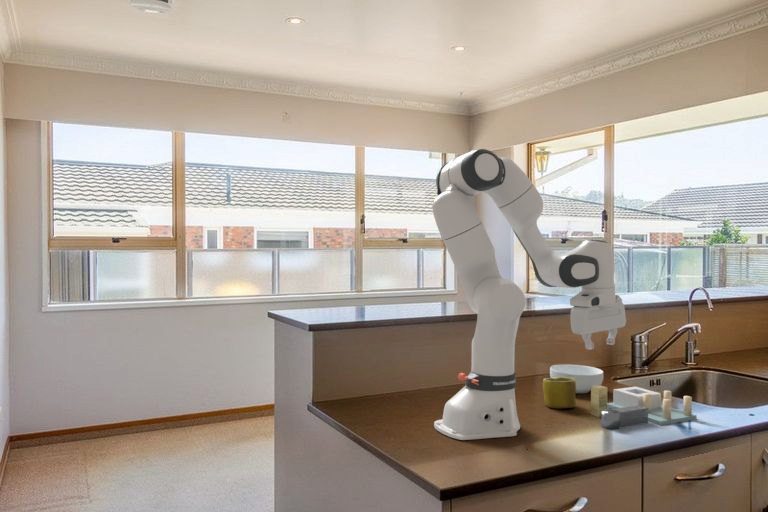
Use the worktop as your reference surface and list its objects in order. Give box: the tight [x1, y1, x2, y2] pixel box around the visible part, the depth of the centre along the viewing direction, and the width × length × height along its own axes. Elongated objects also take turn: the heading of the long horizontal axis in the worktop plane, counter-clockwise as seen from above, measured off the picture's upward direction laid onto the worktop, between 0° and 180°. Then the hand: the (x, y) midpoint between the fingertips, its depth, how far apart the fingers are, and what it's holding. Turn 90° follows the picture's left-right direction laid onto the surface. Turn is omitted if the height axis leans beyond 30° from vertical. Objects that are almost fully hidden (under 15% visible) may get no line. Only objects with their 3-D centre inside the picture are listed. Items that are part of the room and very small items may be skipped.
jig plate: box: [607, 386, 698, 426], centre depth 166 cm, size 14×19×6 cm
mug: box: [542, 377, 577, 410], centre depth 173 cm, size 12×10×10 cm
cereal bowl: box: [549, 363, 604, 394], centre depth 191 cm, size 17×17×7 cm
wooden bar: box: [590, 384, 608, 418], centre depth 163 cm, size 3×3×8 cm
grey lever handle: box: [600, 405, 649, 431], centre depth 155 cm, size 14×5×4 cm, turn 115°
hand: (600, 346), depth 164 cm, fingers open, 8 cm apart
